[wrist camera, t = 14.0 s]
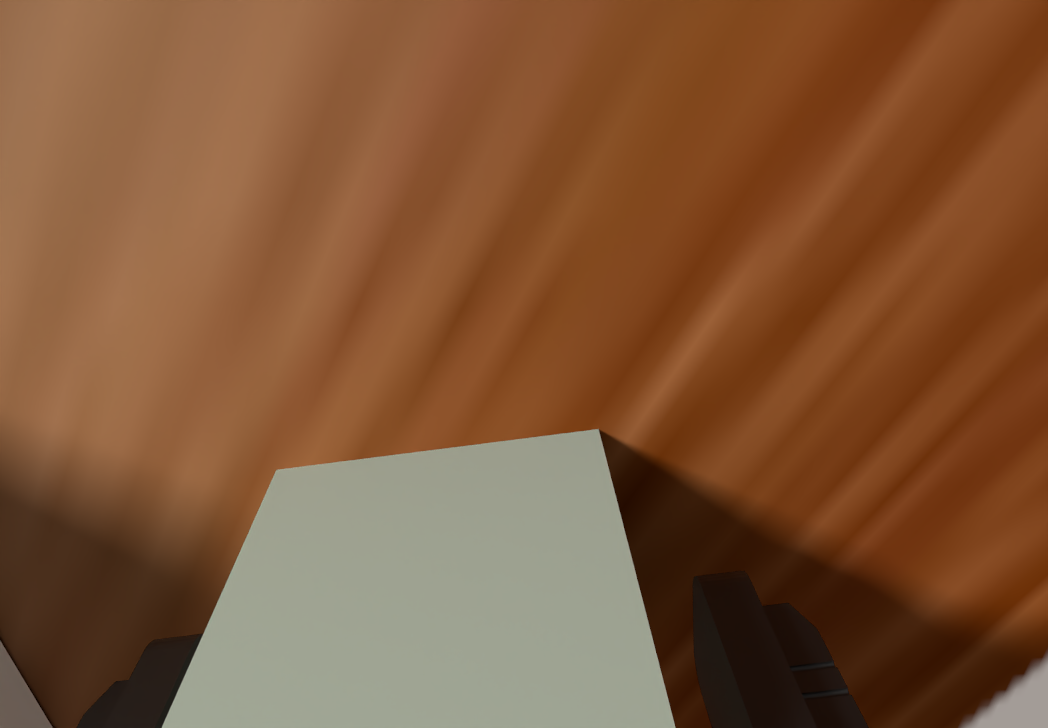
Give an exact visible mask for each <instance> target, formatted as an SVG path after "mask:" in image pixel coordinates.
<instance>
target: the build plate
mask: <svg viewBox="0 0 1048 728" xmlns="http://www.w3.org/2000/svg"><path fill="white" fill-rule="evenodd" d="M0 728H52V726H51V724H50V723H49V721H48V719H47V718H46V716H45V714H44V713H43V711H42V709H41V708H40V706H39V704H38V703H37V701H36V699H35V698H34V696H33V694H32V693H31V691H30V689H29V688H28V686H27V684H26V683H25V681H24V679H23V678H22V676H21V674H20V673H19V671H18V669H17V668H16V666H15V664H14V663H13V661H12V659H11V658H10V656H9V654H8V653H7V651H6V649H5V648H4V646H3V644H2V643H1V641H0Z"/></svg>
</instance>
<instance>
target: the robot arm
mask: <svg viewBox="0 0 1048 728" xmlns="http://www.w3.org/2000/svg"><path fill="white" fill-rule="evenodd" d="M693 632H694V657H695V664H696V670H697V676H698V681H699V685H700V689H701V693H702V696H703V699H704V703H705V706H706V709H707V712H708V716H709V719H710V722H711V725H712V728H868V726H867V724H866V722H865V720H864V718H863V716H862V714H861V712H860V710H859V708H858V706H857V705H856V703H855V701H854V699H853V697H852V695H849V692H848V687H847V685H846V683H845V682H844V680H843V678H842V676H841V674H840V672H839V670H838V668H837V667H836V668H835V666H834V661H833V659H832V657H831V655H830V653H829V651H828V649H827V647H826V645H825V643H824V641H823V639H822V638H821V636H820V634H819V632H818V630H817V628H816V627H814V626H813V625H812V624H811V623H810V622H809V621H808V620H807V619H806V618H804V617H803V616H802V615H801V614H800V613H799V612H798V611H797V610H795V609H794V608H793V607H792V606H791V605H790V604H789V603H783V604H774V605H766V606H762V605H761V602H760V600H759V598H758V596H757V593H756V591H755V589H754V587H753V585H752V582H751V580H750V578H749V576H748V575H747V573H746V572H745V571H735V572H727V573H718V574H710V575H702V576H694V578H693ZM202 636H203V634H197V635H189V636H180V637H172V638H164V639H156V640H153V641H152V642H151V643H149V645H148V646H147V647H146V649H145V650H144V652H143V654H142V656H141V658H140V660H139V661H138V663H137V665H136V667H135V669H134V671H133V673H132V675H131V677H130V679H129V680H124V681H116V682H115V683H114V684H113V685H112V686H111V687H110V688H109V689H108V690H107V691H106V692H105V693H104V694H103V695H102V696H101V697H100V698H99V699H98V700H97V701H96V702H95V703H94V704H93V705H92V706H91V707H90V709H89V710H88V711H87V712H86V713H85V714H84V715H83V717H82V719H81V721H80V722H79V724H78V726H77V728H162V726H163V724H164V721H165V719H166V717H167V715H168V712H169V710H170V708H171V706H172V703H173V701H174V699H175V697H176V694H177V692H178V690H179V688H180V685H181V683H182V681H183V679H184V676H185V674H186V672H187V670H188V667H189V665H190V663H191V661H192V658H193V656H194V654H195V652H196V649H197V647H198V645H199V643H200V640H201V638H202Z"/></svg>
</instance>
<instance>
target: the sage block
mask: <svg viewBox="0 0 1048 728" xmlns="http://www.w3.org/2000/svg"><path fill="white" fill-rule="evenodd" d="M162 728H675V724H674V720H673V716H672V712H671V708H670V704H669V700H668V697H667V693H666V689H665V685H664V681H663V677H662V673H661V669H660V666H659V662H658V658H657V654H656V650H655V646H654V642H653V638H652V635H651V631H650V627H649V623H648V619H647V615H646V611H645V607H644V603H643V600H642V596H641V592H640V588H639V584H638V580H637V576H636V572H635V569H634V565H633V561H632V557H631V553H630V549H629V545H628V541H627V538H626V534H625V530H624V526H623V522H622V518H621V514H620V510H619V507H618V503H617V499H616V495H615V491H614V487H613V483H612V479H611V476H610V472H609V468H608V464H607V460H606V456H605V452H604V448H603V444H602V441H601V437H600V433H599V429H596V430H588V431H580V432H572V433H565V434H557V435H549V436H541V437H533V438H525V439H517V440H509V441H501V442H493V443H485V444H478V445H470V446H462V447H454V448H446V449H438V450H430V451H422V452H414V453H406V454H399V455H391V456H383V457H375V458H367V459H359V460H351V461H343V462H335V463H327V464H319V465H312V466H304V467H296V468H288V469H280V470H276V472H275V474H274V477H273V479H272V481H271V483H270V486H269V488H268V490H267V492H266V495H265V497H264V499H263V501H262V503H261V506H260V508H259V510H258V512H257V515H256V517H255V519H254V521H253V524H252V526H251V528H250V530H249V533H248V535H247V537H246V539H245V542H244V544H243V546H242V548H241V551H240V553H239V555H238V557H237V560H236V562H235V564H234V566H233V569H232V571H231V573H230V575H229V578H228V580H227V582H226V584H225V587H224V589H223V591H222V593H221V596H220V598H219V600H218V602H217V605H216V607H215V609H214V611H213V614H212V616H211V618H210V620H209V622H208V625H207V627H206V629H205V631H204V634H203V636H202V638H201V640H200V643H199V645H198V647H197V649H196V652H195V654H194V656H193V658H192V661H191V663H190V665H189V667H188V670H187V672H186V674H185V676H184V679H183V681H182V683H181V685H180V688H179V690H178V692H177V694H176V697H175V699H174V701H173V703H172V706H171V708H170V710H169V712H168V715H167V717H166V719H165V721H164V724H163V726H162Z"/></svg>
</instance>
